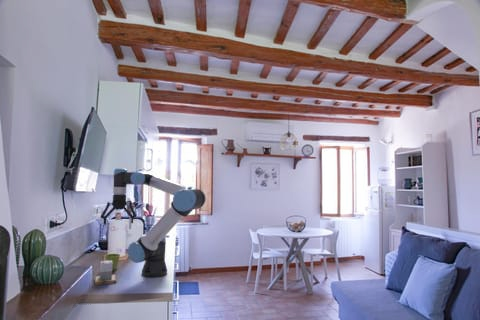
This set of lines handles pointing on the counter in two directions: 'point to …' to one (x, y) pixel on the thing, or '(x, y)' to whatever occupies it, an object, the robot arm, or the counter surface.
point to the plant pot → (113, 259)
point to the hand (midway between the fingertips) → (118, 229)
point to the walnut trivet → (98, 281)
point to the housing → (106, 270)
